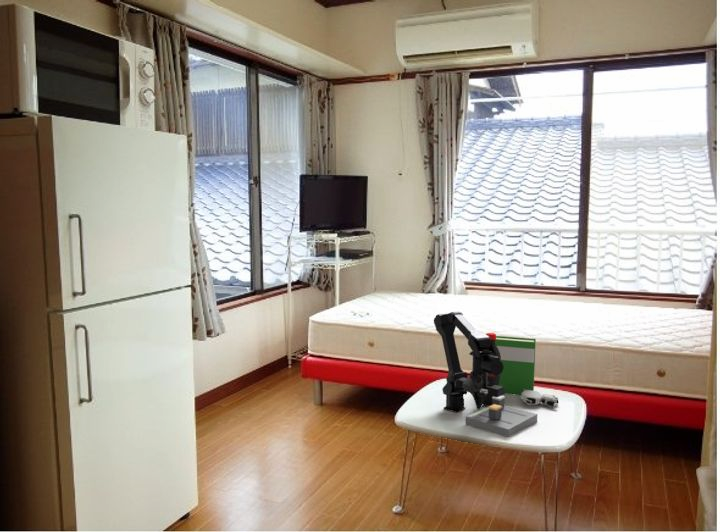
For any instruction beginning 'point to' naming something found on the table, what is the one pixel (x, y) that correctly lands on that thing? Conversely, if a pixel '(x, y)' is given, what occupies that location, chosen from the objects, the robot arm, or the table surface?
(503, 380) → the hardback book
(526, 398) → the robot toy
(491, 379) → the cola bottle
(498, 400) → the on switch
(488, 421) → the panel
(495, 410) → the switch
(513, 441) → the table surface
